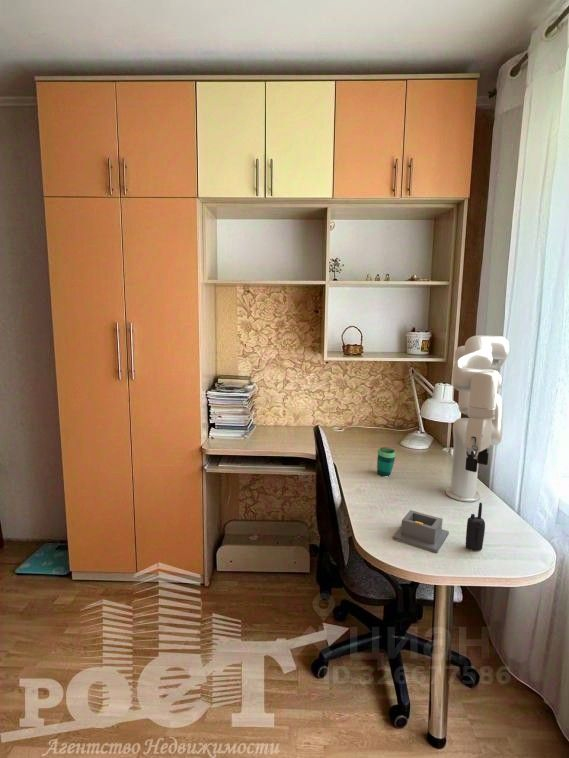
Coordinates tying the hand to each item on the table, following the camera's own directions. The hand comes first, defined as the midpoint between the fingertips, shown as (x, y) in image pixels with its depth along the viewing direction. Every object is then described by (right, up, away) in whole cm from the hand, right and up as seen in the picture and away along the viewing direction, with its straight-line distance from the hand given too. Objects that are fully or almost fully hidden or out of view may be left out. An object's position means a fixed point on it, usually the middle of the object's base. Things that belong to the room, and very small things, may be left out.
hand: (476, 467), depth 133 cm
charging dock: (-14, -24, +8) cm, 29 cm away
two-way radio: (0, -26, +1) cm, 26 cm away
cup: (-14, -16, +60) cm, 64 cm away
